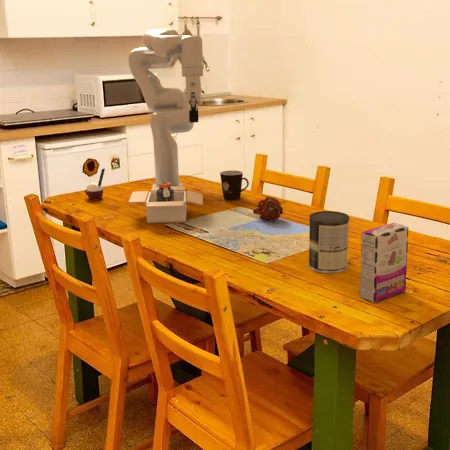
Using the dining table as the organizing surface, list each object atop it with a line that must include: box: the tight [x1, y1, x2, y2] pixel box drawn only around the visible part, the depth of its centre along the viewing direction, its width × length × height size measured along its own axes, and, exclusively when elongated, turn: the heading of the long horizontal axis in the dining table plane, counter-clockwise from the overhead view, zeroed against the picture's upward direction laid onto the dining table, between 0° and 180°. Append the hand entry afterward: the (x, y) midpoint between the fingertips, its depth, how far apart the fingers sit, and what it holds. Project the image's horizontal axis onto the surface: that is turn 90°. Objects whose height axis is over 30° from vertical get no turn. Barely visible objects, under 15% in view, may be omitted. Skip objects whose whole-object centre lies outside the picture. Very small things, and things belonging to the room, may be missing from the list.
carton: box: [128, 185, 188, 224], centre depth 219 cm, size 28×19×7 cm
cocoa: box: [84, 168, 106, 200], centre depth 245 cm, size 10×6×12 cm, turn 43°
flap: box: [186, 190, 204, 207], centre depth 219 cm, size 15×1×6 cm
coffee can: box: [308, 210, 350, 274], centre depth 168 cm, size 10×10×14 cm
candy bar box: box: [359, 222, 409, 304], centre depth 149 cm, size 11×5×16 cm, turn 126°
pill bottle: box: [156, 182, 174, 202], centre depth 219 cm, size 6×6×11 cm
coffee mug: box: [219, 169, 250, 202], centre depth 241 cm, size 12×9×10 cm
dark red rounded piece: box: [252, 196, 284, 222], centre depth 214 cm, size 8×8×12 cm
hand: (194, 120), depth 231 cm, fingers open, 9 cm apart
